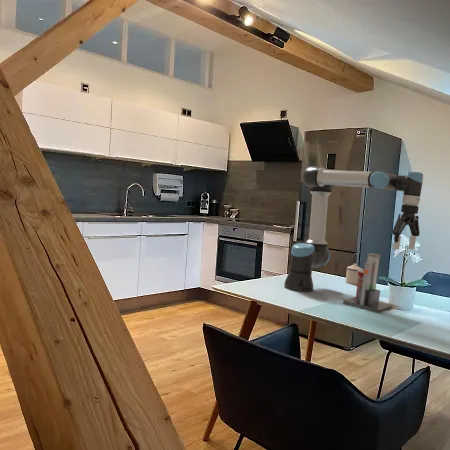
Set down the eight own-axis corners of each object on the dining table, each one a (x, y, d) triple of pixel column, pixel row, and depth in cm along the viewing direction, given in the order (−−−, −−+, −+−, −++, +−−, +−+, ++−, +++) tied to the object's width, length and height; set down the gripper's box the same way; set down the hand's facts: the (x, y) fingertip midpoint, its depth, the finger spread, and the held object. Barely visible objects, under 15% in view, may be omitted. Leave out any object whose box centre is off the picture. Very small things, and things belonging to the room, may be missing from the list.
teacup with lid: (363, 285, 269) (366, 265, 268) (350, 284, 267) (352, 264, 266) (352, 280, 281) (355, 262, 280) (339, 280, 278) (342, 261, 277)
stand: (342, 303, 216) (348, 259, 214) (355, 299, 228) (361, 257, 226) (380, 313, 205) (386, 266, 203) (391, 308, 216) (397, 264, 215)
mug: (375, 300, 231) (378, 274, 229) (358, 298, 230) (361, 272, 229) (366, 294, 243) (369, 269, 242) (349, 293, 242) (352, 267, 241)
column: (361, 301, 216) (367, 253, 214) (365, 300, 219) (371, 253, 217) (370, 304, 213) (377, 255, 211) (374, 302, 216) (380, 254, 215)
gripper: (403, 204, 205) (396, 250, 207) (431, 207, 221) (424, 250, 223) (388, 202, 211) (381, 247, 213) (416, 205, 227) (410, 247, 228)
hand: (403, 249), depth 218 cm, fingers open, 13 cm apart
